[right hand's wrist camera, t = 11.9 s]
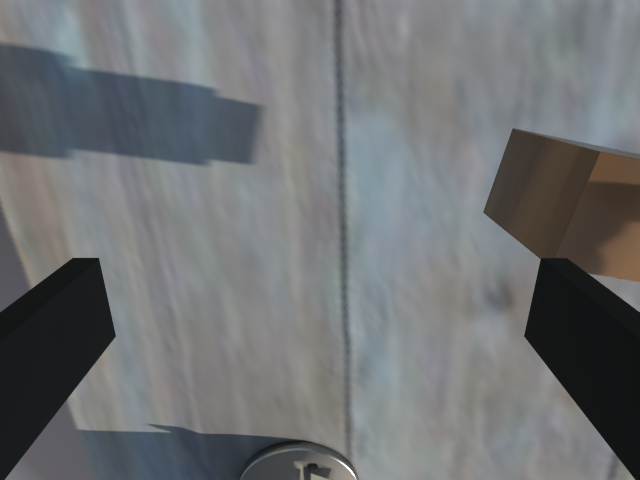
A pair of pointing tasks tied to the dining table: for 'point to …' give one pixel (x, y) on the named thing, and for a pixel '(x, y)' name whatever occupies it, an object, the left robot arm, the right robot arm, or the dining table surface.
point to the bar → (570, 202)
